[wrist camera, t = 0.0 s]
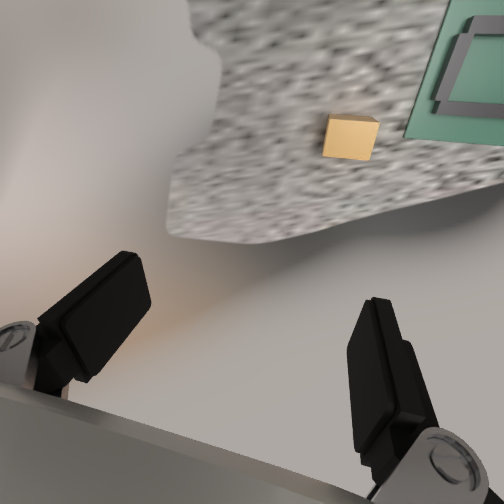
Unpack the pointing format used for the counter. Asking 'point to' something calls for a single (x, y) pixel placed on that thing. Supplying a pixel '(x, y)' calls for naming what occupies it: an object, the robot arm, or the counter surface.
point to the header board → (464, 78)
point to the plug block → (350, 136)
